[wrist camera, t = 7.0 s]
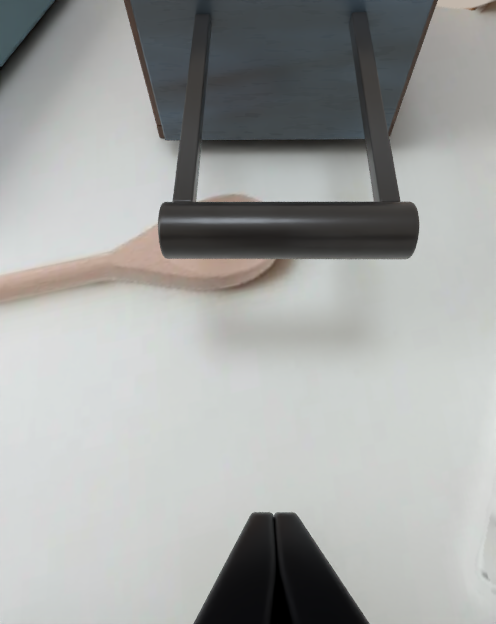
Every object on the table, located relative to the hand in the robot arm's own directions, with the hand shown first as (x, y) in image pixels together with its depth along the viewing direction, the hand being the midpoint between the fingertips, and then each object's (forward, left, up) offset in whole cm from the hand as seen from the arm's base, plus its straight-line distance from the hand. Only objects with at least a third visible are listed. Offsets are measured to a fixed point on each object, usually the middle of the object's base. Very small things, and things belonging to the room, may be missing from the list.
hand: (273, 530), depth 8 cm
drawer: (+18, -9, -7) cm, 21 cm away
